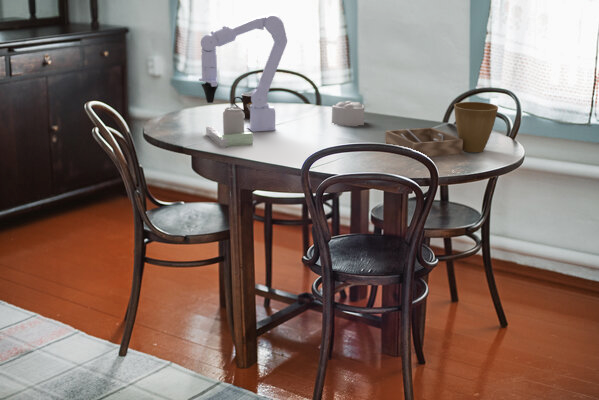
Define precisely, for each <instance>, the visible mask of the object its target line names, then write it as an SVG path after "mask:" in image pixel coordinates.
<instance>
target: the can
mask: <svg viewBox="0 0 599 400" xmlns="http://www.w3.org/2000/svg"><path fill="white" fill-rule="evenodd" d="M242 109H243V108H242V107H240V106H238V107H236V106H228V107H225V108H224V111H223V113H222V122H223V124H222V125H223V130H222V131H223V135H224V134H230V133H245V117H244V112H243V111H242Z"/></svg>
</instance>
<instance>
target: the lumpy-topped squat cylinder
mask: <svg viewBox="0 0 599 400" xmlns="http://www.w3.org/2000/svg"><path fill="white" fill-rule="evenodd" d="M332 123H334V124H333V125H335V124H337V125H336V126H341V125H346V126H345V127H359V126H358V125H363V126H364V124H365V105H364V104H362V103H361V102H358V101H352V100H347V101H339V102H338V103H335V104H333V105H332V106H331V124H332Z"/></svg>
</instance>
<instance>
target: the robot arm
mask: <svg viewBox="0 0 599 400" xmlns="http://www.w3.org/2000/svg"><path fill="white" fill-rule="evenodd" d="M264 28H265V29H264ZM254 30H260V31H261V30H262V31H263V30H266V31H267V32H268V33H269V34H270V35H271V37H272V40H273V46H272V47H271V50H270V52H269V56H268V58H267V61H266V63H265V66H264V68H263V71H262V73H261V76H260V78H259V81H258V83H257V85H256V87H255V88H254V89H252V92H251V93H252V94H251V102H252V104H251V105H250V120H249V122H250V124H249V126H247V127H246V129H249V130H250V132H252V133H253V132H267V131H276V130H277V129H276V109H275V107H274V106H272V105H271V106H270V105H269V104H268V99H269V98H268V94H269V92H270V88H271V84H272V82H273V81H274V77H275V75H276V72H277V70H278V67H279V64H280V62H281V59H282V56H283V55H284V52H285V49H286V46H287V44H288V38H287V33H286V29H285V26H284V22H283V20H282V19H281V17H280V16H279V15H278V14H276V13H268V15H262V16H258V17H256V18H253V19H251V20H249V21H246V22H244V23H241V24H239V25H237V26H235V27H232V26H229V25H223V26H222V28H220V29H218V30H215V31H210V33H209V34H208V33H207V34H205V35H203V37H202V38H201V40H200V46H201V56H200V57H201V78H198V81H200V82H204V83H202V84H201V87H202V90H203V91H204V95H205V101H206V103H208V104H212V103H214V100H215V95H216V92H217V89H218V87H219V84H218V63H217V62H218V59H217V58H218V57H217V48H216V47H222V46H225V45H227V44H230V43H232V42H235V40H236V37H238V36H240V35H242V34H245V33H248V32H251V31H254Z"/></svg>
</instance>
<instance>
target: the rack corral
mask: <svg viewBox="0 0 599 400" xmlns="http://www.w3.org/2000/svg"><path fill="white" fill-rule="evenodd" d="M406 129H407V128H406ZM406 129H394V130H385V135H384V136H385V137H384V144H385V143H386V144H393V145H399V146H404V147H408V148H411V149H413V150H416V151H419V152H421V153H423V154H425V155H427V156H428V157H427V158H432V157H433V156H434V157H442V156H441V155H445V156H451V155H450V154H457V155H462V154H463V150H462V146H463V140H462V139H459V137H457V136H454V135H451V134H449V133H446V132H444V131H442V130H439V129H436V128H433V127H423V128H408V129H409V130H410V131H411V132H412V133H413V134H414V135H415V136H416V137H417V138H418V139H419V140H420V141H421V142H419V141H418V140H417V139H416V138H414V137H413V136H412V135H411V134H410V133H409V132H408V131H407V130H406ZM401 134H403V135H404V136H405V137H406V138H407V139H406V138H403V137H402V136H401ZM438 134H442V135H443V141H442V136H439V135H438ZM433 139H438V140H439V141H434V140H433ZM461 153H462V154H461ZM429 156H430V157H429Z"/></svg>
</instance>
